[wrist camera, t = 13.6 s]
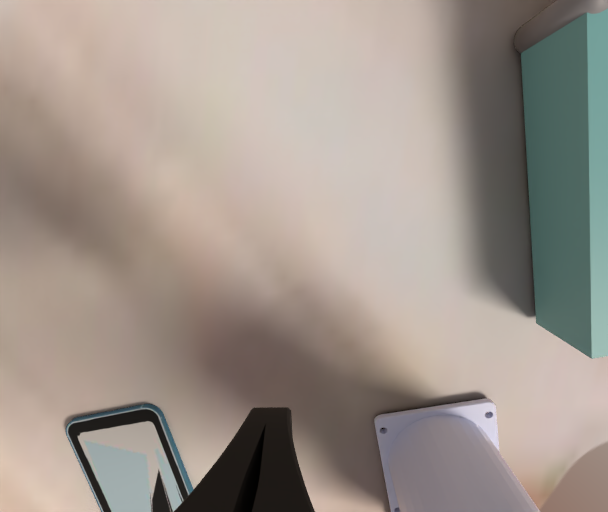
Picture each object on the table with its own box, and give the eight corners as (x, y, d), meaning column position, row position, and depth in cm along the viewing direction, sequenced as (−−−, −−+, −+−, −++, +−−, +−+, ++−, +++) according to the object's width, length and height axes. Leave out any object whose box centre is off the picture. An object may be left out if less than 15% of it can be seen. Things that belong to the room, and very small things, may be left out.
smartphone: (156, 404, 22) (218, 567, 25) (163, 395, 23) (222, 553, 26) (60, 423, 22) (131, 580, 25) (70, 413, 23) (138, 566, 26)
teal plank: (512, 27, 16) (582, -27, 12) (541, 19, 16) (621, -37, 12) (531, 323, 19) (588, 362, 15) (554, 319, 19) (619, 356, 15)
